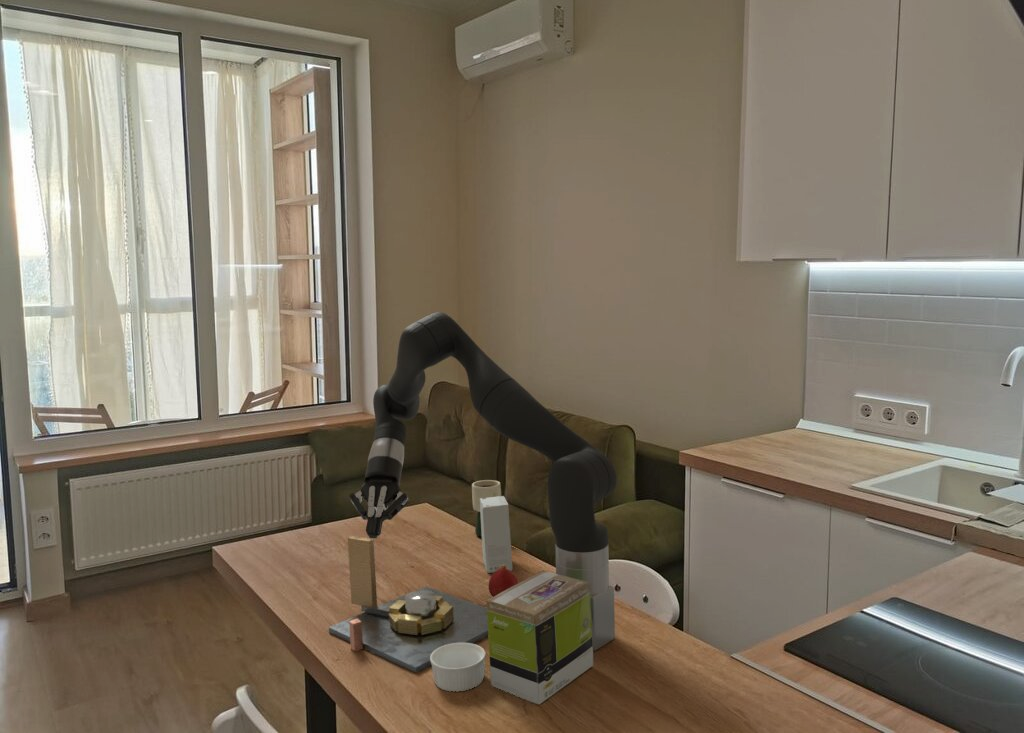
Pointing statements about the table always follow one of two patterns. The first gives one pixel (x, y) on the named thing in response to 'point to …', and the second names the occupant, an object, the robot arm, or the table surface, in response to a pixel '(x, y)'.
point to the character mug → (483, 491)
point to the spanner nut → (408, 624)
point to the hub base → (411, 648)
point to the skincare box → (495, 533)
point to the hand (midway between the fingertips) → (372, 536)
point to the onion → (501, 581)
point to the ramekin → (458, 666)
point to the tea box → (540, 635)
